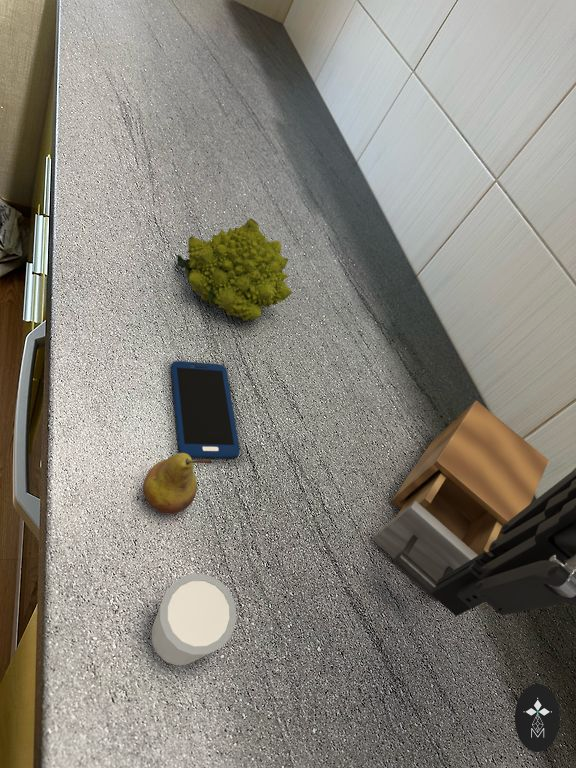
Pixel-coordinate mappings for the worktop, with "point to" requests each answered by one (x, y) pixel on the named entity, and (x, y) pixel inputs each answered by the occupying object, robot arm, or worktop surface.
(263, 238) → the vegetable
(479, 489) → the cabinet
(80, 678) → the worktop surface
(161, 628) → the white cup
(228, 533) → the worktop surface
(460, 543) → the drawer
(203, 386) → the cell phone
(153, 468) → the fruit
